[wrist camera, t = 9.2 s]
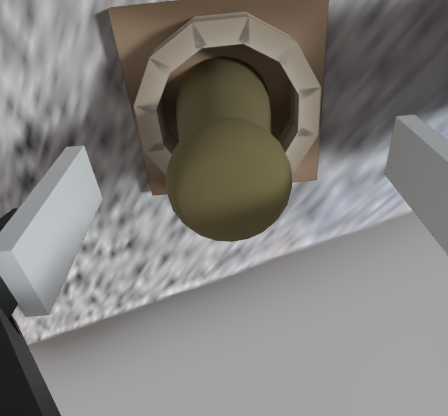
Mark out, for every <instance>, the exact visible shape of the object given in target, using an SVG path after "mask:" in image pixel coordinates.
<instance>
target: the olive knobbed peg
mask: <svg viewBox="0 0 448 416" xmlns="http://www.w3.org/2000/svg"><path fill="white" fill-rule="evenodd" d="M175 115H176V122H177V129H178V136H179V143H178V144H177V146H176V147H175V148H174V151H173V153H172V156H171V158H170V161H169V163H168V166H167V170H166V190H167V194H168V197H169V200H170V203H171V206H172V208H173V211H174V212H175V213H176V215H177V216H178V217H179V218H180V220H181V221H182V222H183V223H184V224H185V225H186V226H187V227H189V228H190V229H192V230H193V231H195V232H196V233H198V234H199V235H201V236H204V237H207V238H210V239H213V240H216V241H231V242H233V241H238V240H244V239H249V238H251V237H253V236H255V235H257V234H260V233H262V232H263V231H265V230H266V229H267V228H268V227H269V226H271V225H272V224H273V223H274V222H275V221H276V220H277V219H278V218H279V216H280V215H281V213H282V212H283V210H284V209H285V207H286V206H287V204H288V200H289V196H290V192H291V189H292V175H291V165H290V162H289V160H288V157H287V156H286V154H285V152H284V150H283V148H282V146H281V144H280V142H279V141H278V140H277V139H276V138H275V137H274V136H273V135H271V110H270V98H269V91H268V88H267V86H266V84H265V82H264V80H263V78H262V76H261V75H260V74H259V73H258V72H257V71H256V70H255V69H254V68H253V67H252V66H251V65H249V64H247V63H245V62H243V61H241V60H239V59H237V58H230V57H221V56H220V57H215V58H211V59H206V60H203V61H202V62H200V63H199V64H197V65H195V66H194V67H192V68H191V69H190V70H189V71H188V72H187V74H186V75H185V76H184V77H183V78H182V80H181V81H180V84H179V87H178V89H177V92H176V95H175Z"/></svg>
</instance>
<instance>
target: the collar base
mask: <svg viewBox="0 0 448 416" xmlns="http://www.w3.org/2000/svg"><path fill="white" fill-rule="evenodd" d="M328 4H329V0H175V1H166V2H156V3H147V4H138V5H128V6H119V7H111V8H109V9H108V13H109V17H110V21H111V25H112V30H113V34H114V38H115V42H116V46H117V50H118V54H119V59H120V63H121V67H122V71H123V75H124V79H125V83H126V88H127V92H128V96H129V100H130V104H131V108H132V112H133V117H134V121H135V125H136V129H137V133H138V137H139V141H140V146H141V150H142V154H143V158H144V162H145V166H146V170H147V175H148V179H149V183H150V187H151V191H152V195H164V194H167V190H166V170H167V166H168V163H169V161H170V158H171V156H172V153H173V151H174V148H175V147H176V146H177V144H178V143H179V136H178V129H177V122H176V115H175V95H176V92H177V89H178V87H179V84H180V81H181V80H182V78H183V77H184V76H185V75H186V74H187V72H188V71H189V70H190V69H191V68H192V67H194V66H195V65H197V64H199V63H200V62H202V61H203V60H206V59H211V58H215V57H220V56H221V57H230V58H237V59H239V60H241V61H243V62H245V63H247V64H249V65H251V66H252V67H253V68H254V69H255V70H256V71H257V72H258V73H259V74H260V75H261V76H262V78H263V80H264V82H265V84H266V86H267V88H268V91H269V98H270V110H271V135H273V136H274V137H275V138H276V139H277V140H278V141H279V142H280V144H281V146H282V148H283V150H284V152H285V154H286V156H287V157H288V160H289V162H290V165H291V175H292V182H302V181H313V180H317V170H318V155H319V140H320V125H321V110H322V95H323V80H324V64H325V49H326V34H327V19H328Z"/></svg>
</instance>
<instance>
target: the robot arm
mask: <svg viewBox="0 0 448 416" xmlns="http://www.w3.org/2000/svg"><path fill="white" fill-rule="evenodd" d="M385 175H386V177H387V178H388V179H389V180H390V182H391V183H392V184H393V186H394V187H395V188H396V189H397V191H398V192H399V193H400V195H401V196H402V197H403V198H404V200H405V201H406V202H407V204H408V205H409V206H410V207H411V209H412V210H413V211H414V212H415V214H416V215H417V216H418V218H419V219H420V220H421V221H422V223H423V224H424V225H425V226H426V228H427V229H428V230H429V232H430V233H431V234H432V235H433V237H434V238H435V239H436V241H437V242H438V243H439V244H440V246H441V247H442V248H443V250H444V251H445V252H446V253H447V255H448V140H446V139H445V138H444V137H443V136H441V135H440V134H439V133H438V132H436V131H435V130H434V129H432V128H431V127H430V126H429V125H427V124H426V123H425V122H424V121H422V120H421V119H420V118H419V117H417V116H416V115H404V116H396V119H395V124H394V129H393V134H392V139H391V144H390V149H389V154H388V159H387V164H386V169H385ZM102 199H103V198H102V196H101V193H100V190H99V187H98V184H97V181H96V178H95V175H94V173H93V170H92V167H91V164H90V161H89V158H88V155H87V152H86V149H85V147H84V145H82V146H71V147H66V148H65V149H64V151H63V152H62V153H61V155H60V156H59V157H58V158H57V160H56V161H55V162H54V164H53V165H52V166H51V167H50V169H49V170H48V171H47V173H46V174H45V175H44V176H43V178H42V179H41V180H40V182H39V183H38V184H37V185H36V187H35V188H34V189H33V191H32V192H31V193H30V194H29V196H28V197H27V198H26V199H25V201H24V202H23V203H22V205H21V206H20V207H19V208H16V209H13V210H11V211H10V212H8V213H7V214H6V215H4V216H3V217H1V219H0V416H61V415H60V413H59V411H58V408H57V406H56V404H55V402H54V400H53V398H52V396H51V394H50V392H49V390H48V388H47V385H46V383H45V381H44V379H43V377H42V375H41V373H40V371H39V369H38V367H37V365H36V363H35V360H34V358H33V356H32V354H31V352H30V350H29V348H28V346H27V343H26V341H25V339H24V337H23V335H22V333H21V331H20V329H19V327H18V325H17V323H16V321H15V319H14V318H13V316H12V313H13V312H14V310H15V308H16V306H17V305H18V306H19V308H20V309H21V311H22V312H23V314H24V315H25V317H29V316H42V315H49V314H50V311H51V309H52V307H53V305H54V303H55V301H56V299H57V296H58V294H59V292H60V290H61V288H62V286H63V283H64V281H65V279H66V277H67V275H68V273H69V270H70V268H71V266H72V264H73V262H74V260H75V257H76V255H77V253H78V251H79V249H80V247H81V244H82V242H83V240H84V238H85V236H86V234H87V232H88V229H89V227H90V225H91V223H92V221H93V219H94V216H95V214H96V212H97V210H98V208H99V206H100V203H101V201H102Z"/></svg>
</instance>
